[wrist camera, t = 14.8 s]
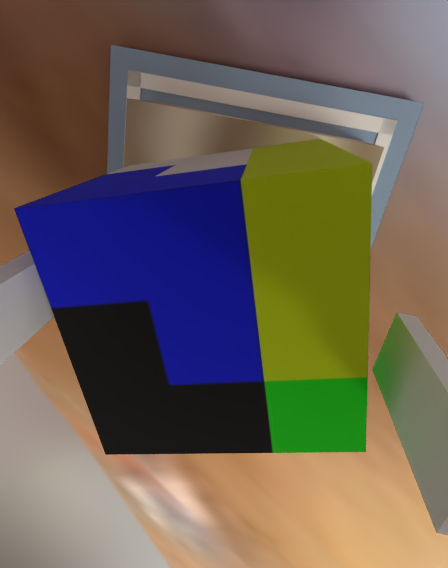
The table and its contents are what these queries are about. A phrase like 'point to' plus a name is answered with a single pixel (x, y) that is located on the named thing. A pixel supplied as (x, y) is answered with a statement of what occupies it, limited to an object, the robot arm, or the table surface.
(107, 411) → the puzzle toy
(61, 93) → the table surface
